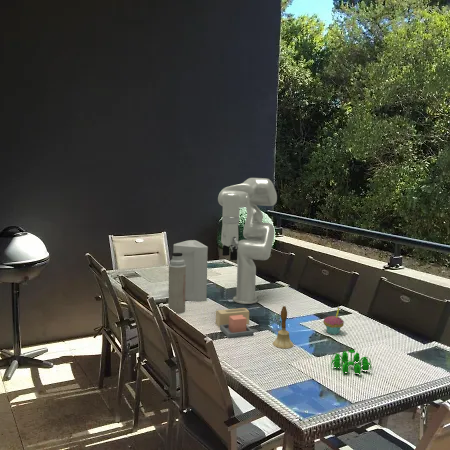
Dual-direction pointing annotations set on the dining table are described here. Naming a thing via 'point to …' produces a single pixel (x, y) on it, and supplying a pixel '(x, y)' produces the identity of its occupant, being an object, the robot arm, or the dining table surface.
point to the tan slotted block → (223, 315)
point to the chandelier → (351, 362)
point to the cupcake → (333, 323)
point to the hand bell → (283, 333)
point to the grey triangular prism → (194, 269)
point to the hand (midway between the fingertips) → (229, 257)
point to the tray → (237, 334)
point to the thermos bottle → (177, 283)
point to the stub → (237, 323)
